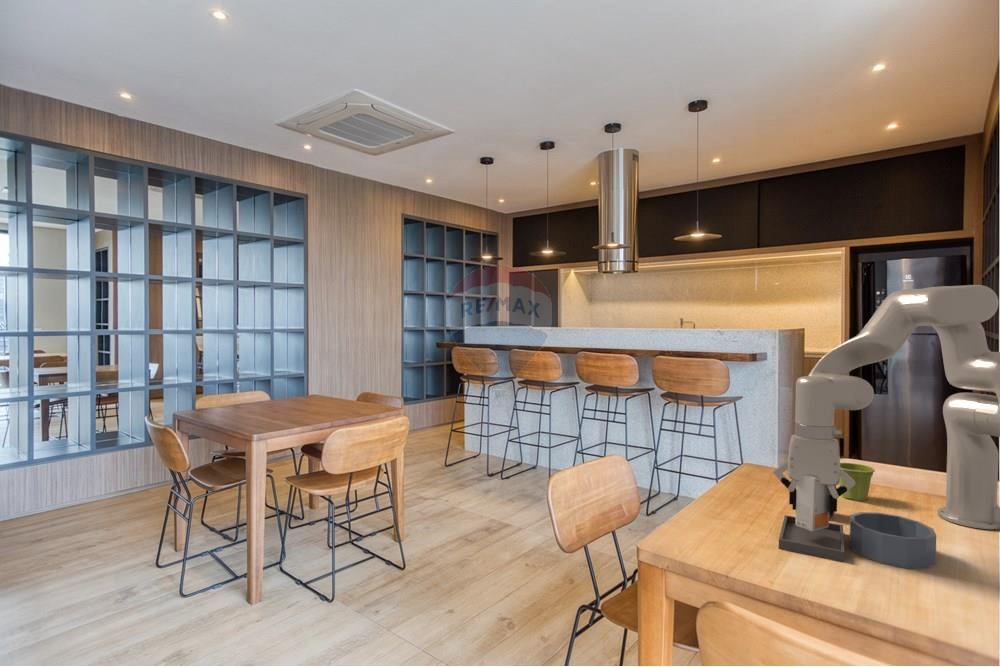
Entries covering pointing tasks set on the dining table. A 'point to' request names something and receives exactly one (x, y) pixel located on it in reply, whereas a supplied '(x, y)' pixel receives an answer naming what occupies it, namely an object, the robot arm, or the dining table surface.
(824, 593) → the dining table surface
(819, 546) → the tray
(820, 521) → the skincare box
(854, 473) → the plant pot
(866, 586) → the dining table surface
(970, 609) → the dining table surface
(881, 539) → the grey faceted ring
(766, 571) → the dining table surface
